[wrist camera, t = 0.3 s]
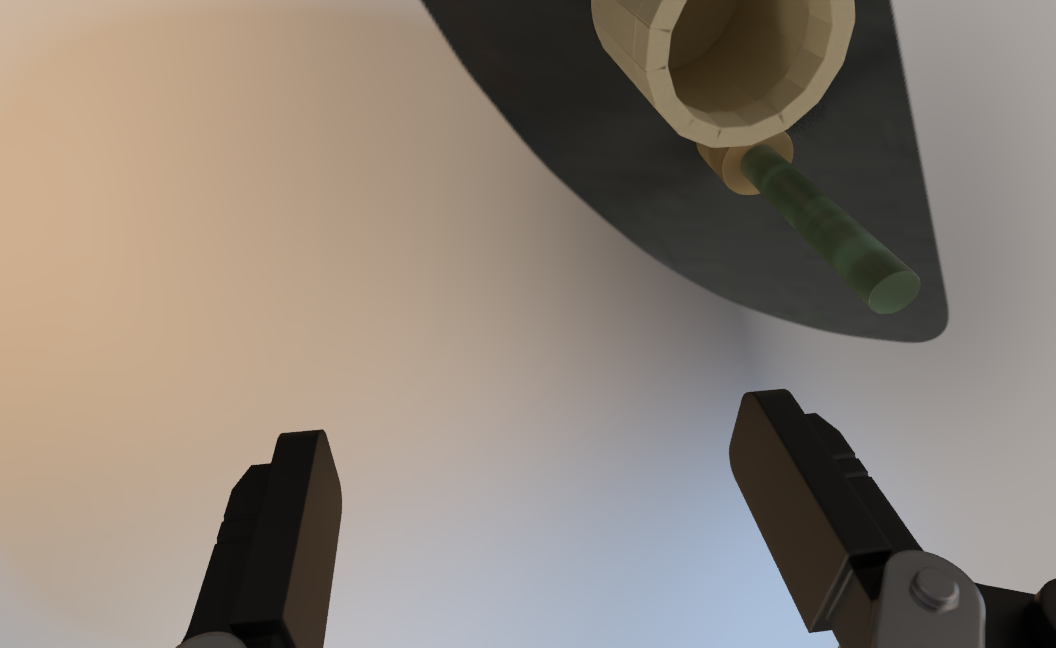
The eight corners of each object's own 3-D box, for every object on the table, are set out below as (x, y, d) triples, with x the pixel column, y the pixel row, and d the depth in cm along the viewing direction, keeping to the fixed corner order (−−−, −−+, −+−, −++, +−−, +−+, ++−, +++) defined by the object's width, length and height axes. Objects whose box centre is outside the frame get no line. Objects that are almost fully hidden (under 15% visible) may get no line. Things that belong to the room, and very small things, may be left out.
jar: (594, -97, 31) (659, -76, 22) (758, -101, 31) (884, -82, 23) (587, 78, 36) (637, 153, 27) (728, 71, 36) (822, 142, 28)
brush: (700, 101, 37) (861, 252, 23) (766, 97, 37) (963, 244, 24) (691, 166, 39) (831, 338, 26) (752, 162, 40) (924, 330, 26)
